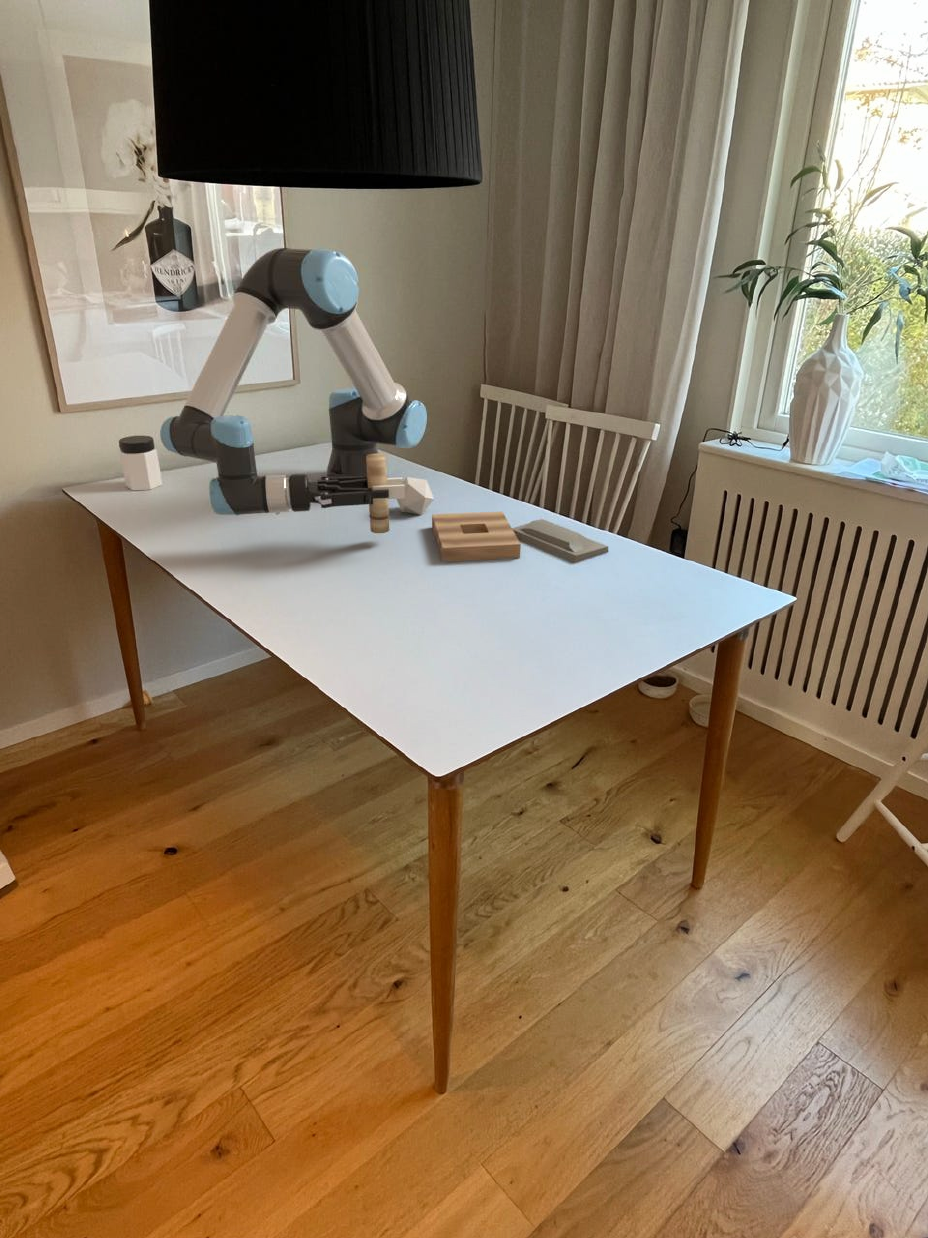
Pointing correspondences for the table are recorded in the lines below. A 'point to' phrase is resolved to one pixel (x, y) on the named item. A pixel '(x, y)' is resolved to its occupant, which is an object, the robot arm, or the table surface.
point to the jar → (140, 463)
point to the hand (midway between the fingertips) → (403, 487)
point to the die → (415, 496)
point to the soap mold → (559, 541)
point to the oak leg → (375, 478)
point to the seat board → (475, 536)
